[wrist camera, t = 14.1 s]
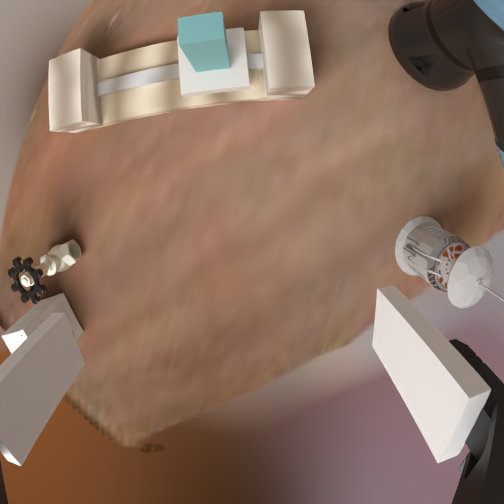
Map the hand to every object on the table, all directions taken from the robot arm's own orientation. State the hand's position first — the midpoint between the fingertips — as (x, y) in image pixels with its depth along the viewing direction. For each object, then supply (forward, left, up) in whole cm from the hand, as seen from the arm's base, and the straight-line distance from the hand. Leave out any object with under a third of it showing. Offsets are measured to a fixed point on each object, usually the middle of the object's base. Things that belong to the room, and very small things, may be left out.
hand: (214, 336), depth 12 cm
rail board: (+6, -19, -32) cm, 37 cm away
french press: (-27, +8, -32) cm, 43 cm away
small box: (+33, +15, -32) cm, 48 cm away
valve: (+28, +4, -32) cm, 43 cm away
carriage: (+1, -19, -29) cm, 35 cm away
